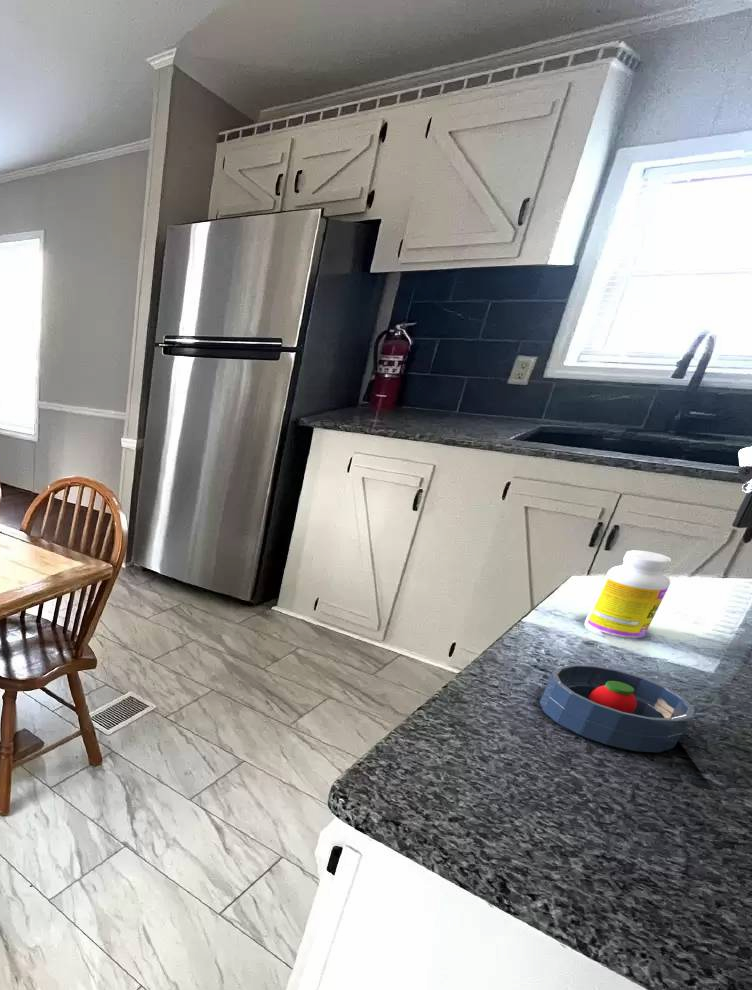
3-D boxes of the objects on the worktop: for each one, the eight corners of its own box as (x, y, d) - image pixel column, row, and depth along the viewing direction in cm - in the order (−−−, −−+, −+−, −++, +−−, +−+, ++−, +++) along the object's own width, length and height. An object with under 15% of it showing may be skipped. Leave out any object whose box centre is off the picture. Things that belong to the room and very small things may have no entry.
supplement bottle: (643, 647, 94) (683, 567, 88) (582, 634, 98) (618, 556, 92) (640, 631, 98) (679, 554, 93) (583, 619, 102) (617, 544, 97)
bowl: (652, 712, 79) (670, 679, 77) (691, 768, 70) (713, 732, 68) (529, 688, 85) (543, 656, 83) (550, 736, 76) (567, 702, 74)
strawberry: (619, 716, 78) (637, 682, 76) (630, 734, 75) (649, 698, 73) (576, 707, 80) (593, 673, 78) (585, 724, 77) (602, 689, 75)
